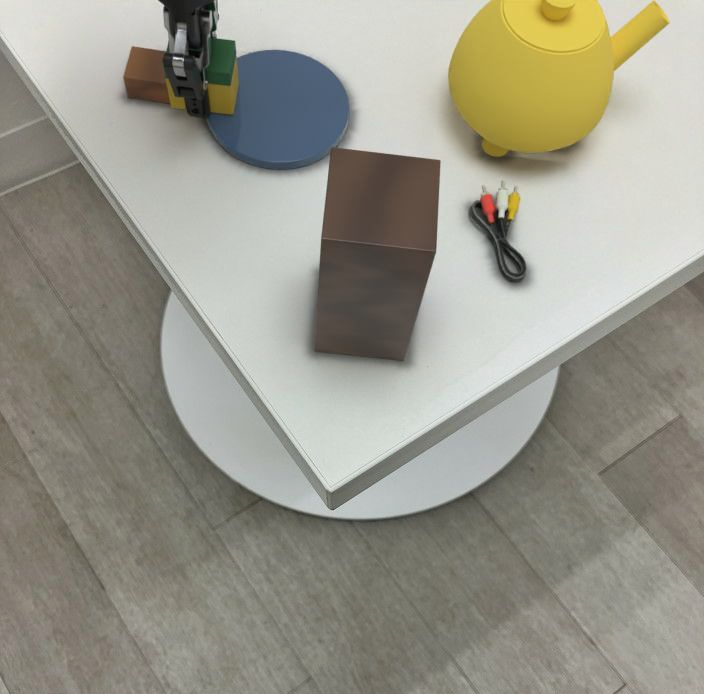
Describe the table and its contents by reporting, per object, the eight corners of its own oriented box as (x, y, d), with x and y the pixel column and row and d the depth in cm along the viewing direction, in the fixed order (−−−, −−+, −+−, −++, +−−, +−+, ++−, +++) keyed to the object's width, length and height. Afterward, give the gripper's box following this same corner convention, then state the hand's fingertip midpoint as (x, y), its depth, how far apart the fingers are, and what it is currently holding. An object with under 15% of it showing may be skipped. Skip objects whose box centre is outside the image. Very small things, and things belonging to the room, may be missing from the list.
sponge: (170, 108, 76) (162, 65, 71) (177, 76, 77) (169, 32, 73) (233, 115, 76) (229, 73, 72) (239, 83, 78) (235, 40, 73)
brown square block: (127, 97, 77) (122, 77, 75) (136, 66, 79) (131, 45, 76) (173, 104, 78) (170, 84, 75) (181, 73, 79) (178, 52, 77)
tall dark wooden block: (313, 351, 69) (320, 238, 54) (321, 273, 72) (331, 146, 57) (404, 361, 70) (436, 251, 55) (409, 283, 73) (440, 159, 58)
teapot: (602, 43, 85) (658, -85, 72) (654, 159, 80) (724, 43, 67) (423, 65, 82) (448, -65, 69) (465, 187, 77) (502, 72, 64)
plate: (196, 160, 75) (194, 152, 75) (216, 49, 80) (215, 41, 79) (342, 177, 76) (343, 170, 75) (353, 66, 81) (354, 58, 80)
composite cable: (528, 283, 74) (536, 267, 71) (477, 284, 73) (484, 268, 71) (513, 195, 77) (520, 178, 75) (464, 195, 76) (470, 178, 74)
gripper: (145, -148, 63) (175, 36, 79) (112, -19, 58) (151, 149, 74) (240, -136, 63) (250, 45, 80) (214, -6, 58) (231, 159, 75)
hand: (202, 95), depth 77 cm, fingers closed on sponge, 4 cm apart
